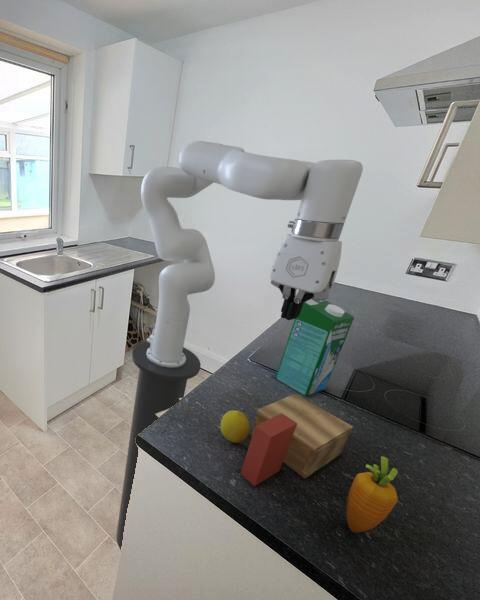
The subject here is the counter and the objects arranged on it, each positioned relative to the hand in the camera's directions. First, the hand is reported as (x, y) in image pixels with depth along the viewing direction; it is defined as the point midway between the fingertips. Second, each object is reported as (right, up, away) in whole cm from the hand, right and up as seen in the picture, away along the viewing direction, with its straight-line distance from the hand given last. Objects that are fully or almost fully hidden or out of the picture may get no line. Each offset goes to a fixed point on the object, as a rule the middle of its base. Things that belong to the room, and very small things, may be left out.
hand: (288, 317), depth 66 cm
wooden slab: (+3, -22, 0) cm, 22 cm away
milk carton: (+20, -21, +25) cm, 38 cm away
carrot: (+1, -35, -14) cm, 38 cm away
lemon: (-11, -28, +3) cm, 30 cm away
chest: (+3, -28, +2) cm, 29 cm away
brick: (-9, -30, -5) cm, 32 cm away
